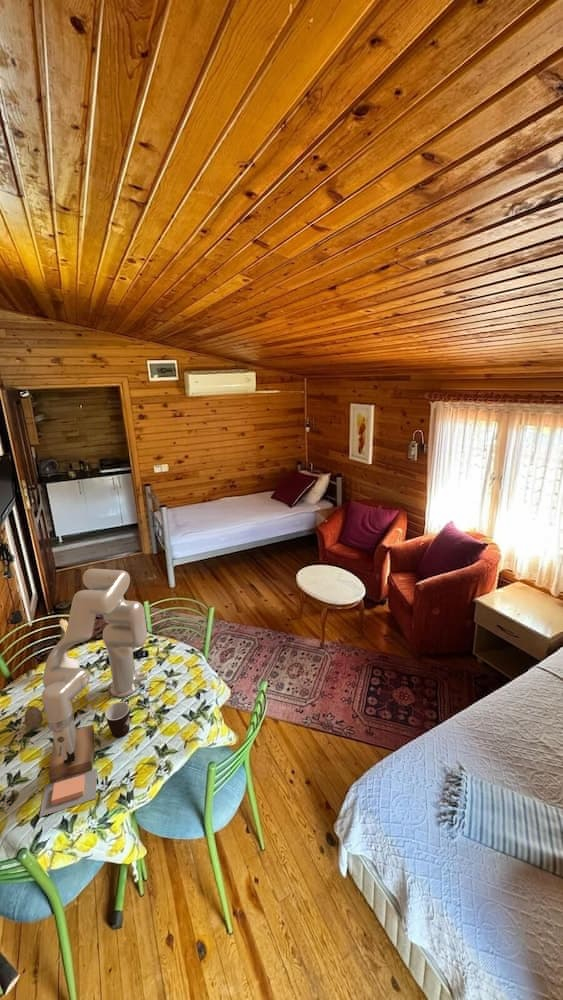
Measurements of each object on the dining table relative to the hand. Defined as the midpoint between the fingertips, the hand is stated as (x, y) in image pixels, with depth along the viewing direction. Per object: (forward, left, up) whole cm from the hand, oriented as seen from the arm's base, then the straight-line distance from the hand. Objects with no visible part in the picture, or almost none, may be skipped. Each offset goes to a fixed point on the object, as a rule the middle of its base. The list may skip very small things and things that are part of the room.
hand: (69, 760), depth 139 cm
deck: (0, -6, -5) cm, 8 cm away
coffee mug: (-17, -12, -5) cm, 21 cm away
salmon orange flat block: (0, +8, -3) cm, 8 cm away
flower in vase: (+7, -56, -5) cm, 57 cm away
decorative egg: (+15, -25, -5) cm, 30 cm away
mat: (0, +8, -5) cm, 9 cm away
